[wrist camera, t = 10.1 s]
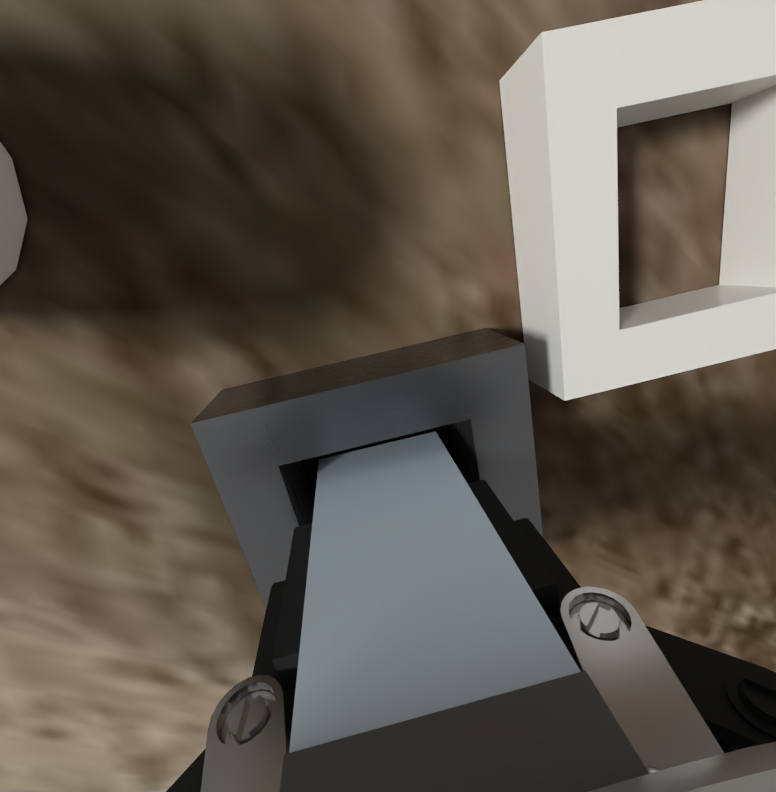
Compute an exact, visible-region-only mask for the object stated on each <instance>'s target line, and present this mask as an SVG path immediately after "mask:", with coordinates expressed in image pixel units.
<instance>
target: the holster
mask: <svg viewBox="0 0 776 792" xmlns="http://www.w3.org/2000/svg"><path fill="white" fill-rule="evenodd" d="M499 83H500V94H501V104H502V115H503V126H504V136H505V147H506V157H507V168H508V178H509V189H510V200H511V210H512V221H513V231H514V242H515V252H516V263H517V274H518V284H519V295H520V305H521V316H522V326H523V337H524V344H525V350H526V360H527V371H528V380H530V381H532V382H533V383H535V384H537V385H539V386H540V387H542V388H544V389H545V390H547V391H549V392H550V393H552V394H554V395H556V396H557V397H559V398H561V399H562V400H564V401H566V400H570V399H574V398H578V397H583V396H587V395H591V394H595V393H599V392H603V391H607V390H611V389H615V388H619V387H623V386H627V385H631V384H635V383H639V382H643V381H648V380H652V379H656V378H660V377H664V376H668V375H672V374H676V373H680V372H684V371H688V370H692V369H696V368H700V367H704V366H709V365H713V364H717V363H721V362H725V361H729V360H733V359H737V358H741V357H745V356H749V355H753V354H757V353H761V352H765V351H769V350H774V349H776V0H703V1H698V2H693V3H688V4H683V5H678V6H673V7H668V8H663V9H658V10H653V11H648V12H643V13H638V14H633V15H627V16H622V17H617V18H612V19H607V20H602V21H597V22H592V23H587V24H582V25H577V26H572V27H567V28H562V29H556V30H551V31H546V32H542V33H541V34H540V35H539V36H538V37H537V38H536V39H535V41H534V42H533V43H532V44H531V45H530V46H529V47H528V49H527V50H526V51H525V52H524V53H523V54H522V56H521V57H520V58H519V59H518V60H517V61H516V62H515V64H514V65H513V66H512V67H511V68H510V69H509V70H508V72H507V73H506V74H505V75H504V76H503V77H502V78H501V80H500V81H499ZM731 103H732V108H731V123H730V137H729V151H728V166H727V180H726V194H725V209H724V223H723V237H722V251H721V266H720V280H719V285H716V286H712V287H707V288H703V289H699V290H695V291H690V292H686V293H682V294H678V295H673V296H669V297H665V298H661V299H656V300H652V301H648V302H644V303H639V304H635V305H631V306H627V307H622V308H619V251H618V170H617V128H618V127H622V126H627V125H632V124H636V123H641V122H646V121H651V120H655V119H660V118H665V117H669V116H674V115H679V114H684V113H688V112H693V111H698V110H703V109H707V108H712V107H717V106H721V105H726V104H731Z"/></svg>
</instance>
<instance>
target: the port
mask: <svg viewBox="0 0 776 792" xmlns="http://www.w3.org/2000/svg"><path fill="white" fill-rule="evenodd" d="M448 424H450V427H451V433H452V438H453V444H454V450H455V456H456V462H457V467H458V469H459V471H460V472H461V474H462V476H463V477H464V479H465V481H466V482H467V484H469V483H472V482H476V481H480V480H485V481H486V482H487V483H488V485H489V486H490V488H491V489H492V490H493V492H494V493H495V495H496V496H497V498H498V499H499V500H500V502H501V503H502V505H503V506H504V508H505V509H506V510H507V512H508V513H509V515H510V516H511V518H512V519H513V521H515V520H519V519H523V518H527V519H529V520H530V522H531V523H532V524H533V525H534V527H535V528H536V529H537V531H538V532H539V533H540V534H541V536H542V537H543V531H542V520H541V509H540V499H539V488H538V477H537V467H536V456H535V445H534V435H533V424H532V414H531V403H530V392H529V382H528V371H527V360H526V350H525V344H524V343H521V342H519V341H516V340H514V339H511V338H509V337H506V336H504V335H502V334H499V333H497V332H494V331H492V330H489V329H487V328H484V329H480V330H476V331H471V332H467V333H463V334H459V335H454V336H450V337H446V338H442V339H437V340H433V341H429V342H424V343H420V344H416V345H412V346H407V347H403V348H399V349H395V350H390V351H386V352H382V353H377V354H373V355H369V356H365V357H360V358H356V359H352V360H348V361H343V362H339V363H335V364H330V365H326V366H322V367H318V368H313V369H309V370H305V371H301V372H296V373H292V374H288V375H284V376H279V377H275V378H271V379H266V380H262V381H258V382H254V383H249V384H245V385H241V386H237V387H232V388H228V389H224V390H221V392H220V393H219V394H218V395H217V396H216V397H215V398H214V399H213V400H212V401H211V402H210V403H209V404H208V405H207V406H206V408H205V409H204V410H203V411H202V412H201V413H200V414H199V415H198V416H197V417H196V418H195V419H194V420H193V421H192V422H191V426H192V428H193V431H194V433H195V436H196V438H197V440H198V443H199V445H200V448H201V450H202V453H203V455H204V457H205V460H206V462H207V465H208V467H209V470H210V472H211V475H212V477H213V479H214V482H215V484H216V487H217V489H218V492H219V494H220V496H221V499H222V501H223V504H224V506H225V509H226V511H227V514H228V516H229V518H230V521H231V523H232V526H233V528H234V531H235V533H236V535H237V538H238V540H239V543H240V545H241V548H242V550H243V552H244V555H245V557H246V560H247V562H248V565H249V567H250V570H251V572H252V574H253V577H254V579H255V582H256V584H257V587H258V589H259V591H260V594H261V596H262V599H263V601H264V604H265V606H266V609H267V604H268V599H269V594H270V590H271V587H272V585H273V584H274V583H276V582H280V581H284V580H285V579H286V573H287V568H288V562H289V556H290V550H291V544H292V538H293V532H294V528H295V527H299V526H303V525H307V524H311V523H312V522H313V512H314V502H315V501H314V498H313V495H312V492H311V489H310V485H309V482H308V479H307V476H306V473H305V470H304V467H303V463H302V460H305V459H309V458H314V457H318V456H322V455H326V454H330V453H334V452H338V451H342V450H346V449H350V448H354V447H358V446H362V445H367V444H371V443H375V442H379V441H383V440H387V439H391V438H395V437H399V436H403V435H407V434H411V433H415V432H419V431H424V430H428V429H432V428H436V427H440V426H444V425H448Z"/></svg>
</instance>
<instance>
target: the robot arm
mask: <svg viewBox="0 0 776 792" xmlns="http://www.w3.org/2000/svg"><path fill="white" fill-rule="evenodd" d="M468 486H469V487H470V489H471V491H472V492H473V494H474V496H475V497H476V499H477V500H478V502H479V504H480V505H481V507H482V509H483V510H484V512H485V514H486V515H487V517H488V519H489V520H490V522H491V524H492V525H493V527H494V529H495V530H496V532H497V534H498V535H499V537H500V539H501V540H502V542H503V544H504V545H505V547H506V548H507V550H508V552H509V553H510V555H511V557H512V558H513V560H514V562H515V563H516V565H517V567H518V568H519V570H520V572H521V573H522V575H523V577H524V578H525V580H526V582H527V583H528V585H529V587H530V588H531V590H532V592H533V593H534V595H535V596H536V598H537V600H538V601H539V603H540V605H541V606H542V608H543V610H544V611H545V613H546V615H547V616H548V618H549V620H550V621H551V623H552V625H553V626H554V628H555V630H556V631H557V633H558V635H559V636H560V638H561V640H562V641H563V643H564V644H565V646H566V648H567V649H568V651H569V653H570V654H571V656H572V658H573V659H574V661H575V663H576V664H577V666H578V668H579V669H580V671H581V672H582V671H586V672H587V673H588V675H589V677H590V678H591V680H592V681H593V683H594V685H595V686H596V688H597V689H598V691H599V693H600V694H601V696H602V698H603V699H604V701H605V702H606V704H607V706H608V707H609V709H610V711H611V712H612V714H613V715H614V717H615V719H616V720H617V722H618V723H619V725H620V727H621V728H622V730H623V732H624V733H625V735H626V736H627V738H628V740H629V741H630V743H631V745H632V746H633V748H634V749H635V751H636V753H637V754H638V756H639V757H640V759H641V761H642V762H643V764H644V766H645V767H646V769H647V770H648V772H649V774H647V775H643V776H640V777H637V778H633V779H630V780H626V781H623V782H619V783H616V784H612V785H609V786H606V787H602V788H599V789H595V790H592V791H588V792H776V673H775V672H773V671H771V670H769V669H766V668H764V667H761V666H758V665H755V664H752V663H750V662H747V661H744V660H741V659H738V658H735V657H733V656H730V655H727V654H724V653H721V652H718V651H716V650H713V649H710V648H707V647H704V646H702V645H699V644H696V643H693V642H690V641H687V640H685V639H682V638H679V637H676V636H673V635H671V634H668V633H665V632H662V631H659V630H656V629H654V628H651V627H648V626H645V624H644V623H643V621H642V620H641V618H640V616H639V615H638V613H637V612H636V610H635V609H634V608H633V607H632V605H631V604H630V603H629V602H628V601H626V600H625V599H624V598H622V597H621V596H620V595H618V594H616V593H614V592H611V591H609V590H606V589H602V588H598V587H582V588H581V587H580V586H579V584H578V583H577V582H576V580H575V579H574V578H573V576H572V575H571V574H570V572H569V571H568V570H567V569H566V567H565V566H564V565H563V563H562V562H561V561H560V559H559V558H558V557H557V555H556V554H555V553H554V551H553V550H552V549H551V548H550V546H549V545H548V544H547V542H546V541H545V540H544V538H543V537H542V536H541V534H540V533H539V532H538V531H537V529H536V528H535V527H534V525H533V524H532V523H531V522H530V520H529V519H527V518H523V519H519V520H515V521H513V519H512V518H511V516H510V515H509V513H508V512H507V510H506V509H505V508H504V506H503V505H502V503H501V502H500V500H499V499H498V498H497V496H496V495H495V493H494V492H493V490H492V489H491V488H490V486H489V485H488V483H487V482H486V481H485V480H480V481H476V482H472V483H469V484H468ZM311 532H312V523H311V524H307V525H303V526H299V527H295V528H294V532H293V538H292V544H291V550H290V556H289V562H288V568H287V573H286V579H285V580H284V581H280V582H276V583H274V584H273V585H272V587H271V590H270V594H269V599H268V604H267V609H266V613H265V618H264V623H263V628H262V632H261V637H260V642H259V647H258V651H257V656H256V661H255V666H254V670H253V675H252V677H249V678H247V679H245V680H243V681H242V682H240V683H238V684H236V685H235V686H234V687H233V688H232V689H231V690H230V691H229V692H227V693H226V695H225V696H224V697H223V698H222V700H221V701H220V702H219V703H218V705H217V707H216V709H215V711H214V713H213V714H212V716H211V720H210V724H209V727H208V733H207V742H206V749H205V750H204V751H203V752H202V753H201V754H200V755H199V756H198V758H197V759H196V760H195V761H194V762H193V763H192V764H191V765H190V766H189V767H188V768H187V770H186V771H185V772H184V773H183V774H182V775H181V776H180V777H179V778H178V779H177V780H176V782H175V783H174V784H173V785H172V786H171V787H170V788H169V789H168V790H167V791H166V792H280V784H281V775H282V766H283V757H284V754H287V753H289V748H290V739H291V729H292V719H293V709H294V699H295V689H296V680H297V670H298V660H299V650H300V640H301V630H302V620H303V611H304V601H305V591H306V581H307V571H308V561H309V551H310V542H311Z"/></svg>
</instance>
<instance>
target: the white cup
mask: <svg viewBox="0 0 776 792" xmlns="http://www.w3.org/2000/svg"><path fill="white" fill-rule="evenodd" d="M27 220H28V219H27V214H26V210H25V206H24V202H23V199H22V195H21V191H20V187H19V183H18V179H17V175H16V171H15V168H14V164H13V160H12V158H11V156H10V154H9V153H8V152H7V150H6V149H5V147H4V146H3V145H2V143H1V142H0V285H1V284H2V283H3V282H4V281H5V280H6V279H7V278H8V277H10V276H11V275H12V274H13V273H14V272H15V271H16V269H17V265H18V260H19V256H20V251H21V247H22V242H23V238H24V234H25V229H26V225H27Z"/></svg>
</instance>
